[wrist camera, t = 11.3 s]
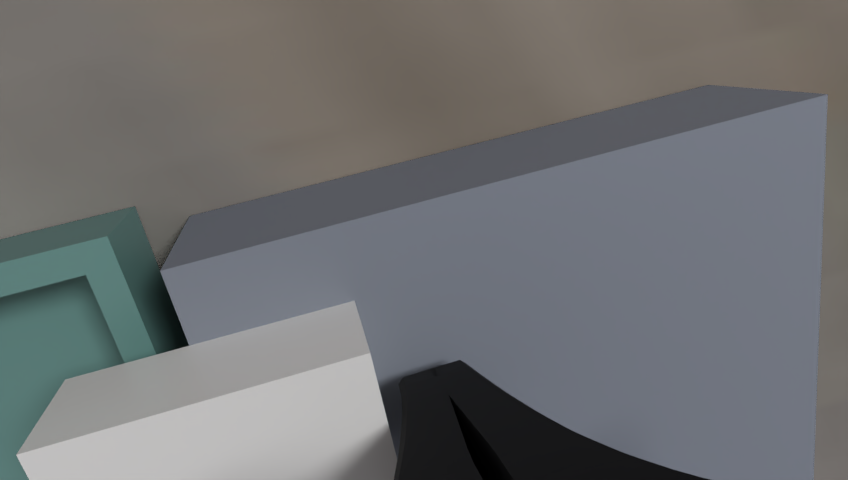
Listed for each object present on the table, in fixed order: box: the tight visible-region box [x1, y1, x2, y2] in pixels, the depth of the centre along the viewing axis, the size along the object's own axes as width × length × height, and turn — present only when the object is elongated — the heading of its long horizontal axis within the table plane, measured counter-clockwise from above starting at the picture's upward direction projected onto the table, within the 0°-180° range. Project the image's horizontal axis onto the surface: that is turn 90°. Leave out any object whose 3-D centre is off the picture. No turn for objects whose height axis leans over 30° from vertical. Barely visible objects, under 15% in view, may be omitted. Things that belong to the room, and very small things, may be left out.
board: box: [160, 85, 828, 480], centre depth 15 cm, size 15×13×4 cm
